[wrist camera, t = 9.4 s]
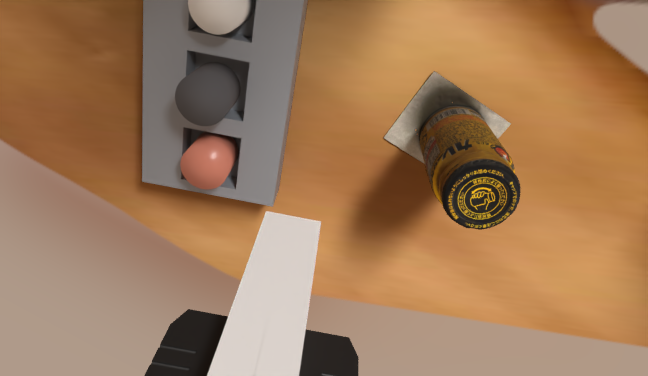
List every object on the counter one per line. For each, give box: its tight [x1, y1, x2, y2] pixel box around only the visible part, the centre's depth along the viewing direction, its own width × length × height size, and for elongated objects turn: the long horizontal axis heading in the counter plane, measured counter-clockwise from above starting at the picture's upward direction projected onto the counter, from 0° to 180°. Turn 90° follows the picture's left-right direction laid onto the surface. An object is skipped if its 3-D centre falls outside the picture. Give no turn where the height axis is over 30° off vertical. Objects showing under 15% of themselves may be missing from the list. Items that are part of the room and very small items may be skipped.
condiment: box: [384, 71, 520, 229], centre depth 38 cm, size 7×8×12 cm
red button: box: [180, 131, 238, 190], centre depth 42 cm, size 4×4×4 cm
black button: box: [175, 62, 241, 126], centre depth 37 cm, size 4×4×4 cm
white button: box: [188, 0, 254, 35], centre depth 36 cm, size 4×4×4 cm
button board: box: [142, 0, 308, 207], centre depth 40 cm, size 20×12×4 cm, turn 170°
